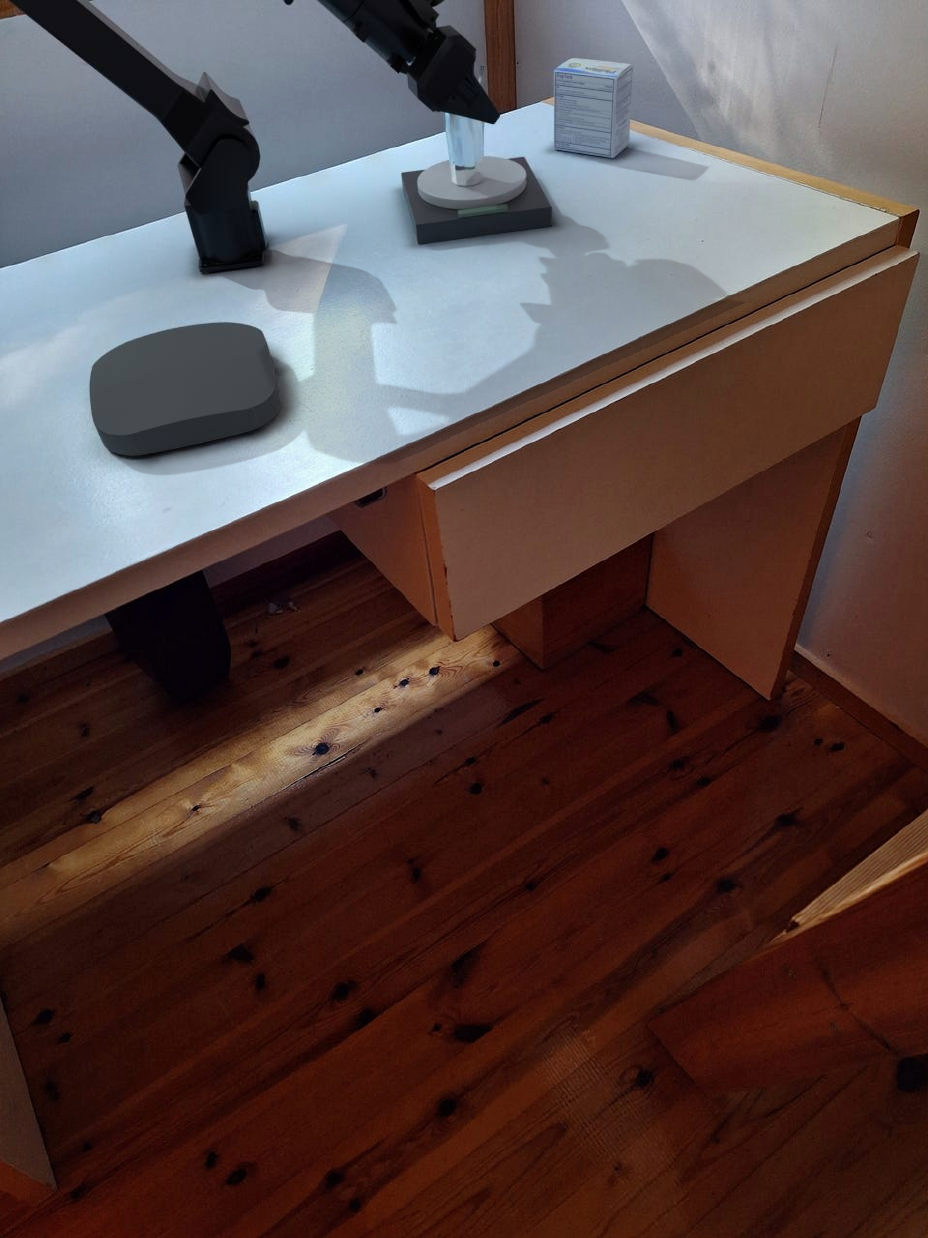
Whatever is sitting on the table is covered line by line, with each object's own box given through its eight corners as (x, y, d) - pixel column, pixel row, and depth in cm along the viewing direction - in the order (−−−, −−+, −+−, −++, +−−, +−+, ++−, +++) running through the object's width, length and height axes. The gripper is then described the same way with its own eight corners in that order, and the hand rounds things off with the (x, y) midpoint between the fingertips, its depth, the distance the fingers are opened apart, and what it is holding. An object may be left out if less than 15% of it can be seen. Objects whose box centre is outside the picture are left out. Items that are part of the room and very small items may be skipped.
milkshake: (503, 175, 95) (500, 68, 88) (468, 192, 93) (462, 84, 86) (472, 165, 98) (466, 61, 90) (437, 182, 95) (428, 76, 88)
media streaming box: (102, 469, 69) (88, 436, 67) (100, 372, 79) (87, 341, 77) (289, 427, 71) (281, 395, 69) (265, 338, 81) (257, 307, 79)
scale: (417, 244, 92) (414, 214, 90) (402, 190, 102) (399, 162, 100) (551, 226, 93) (552, 196, 91) (524, 174, 103) (524, 146, 100)
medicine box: (629, 146, 106) (635, 63, 100) (612, 160, 104) (617, 75, 97) (570, 137, 109) (571, 55, 103) (552, 150, 107) (552, 67, 101)
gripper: (444, -80, 71) (571, 55, 81) (386, -114, 84) (502, 7, 93) (362, 50, 76) (492, 164, 85) (318, -1, 88) (436, 104, 98)
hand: (481, 104), depth 90 cm, fingers open, 9 cm apart
